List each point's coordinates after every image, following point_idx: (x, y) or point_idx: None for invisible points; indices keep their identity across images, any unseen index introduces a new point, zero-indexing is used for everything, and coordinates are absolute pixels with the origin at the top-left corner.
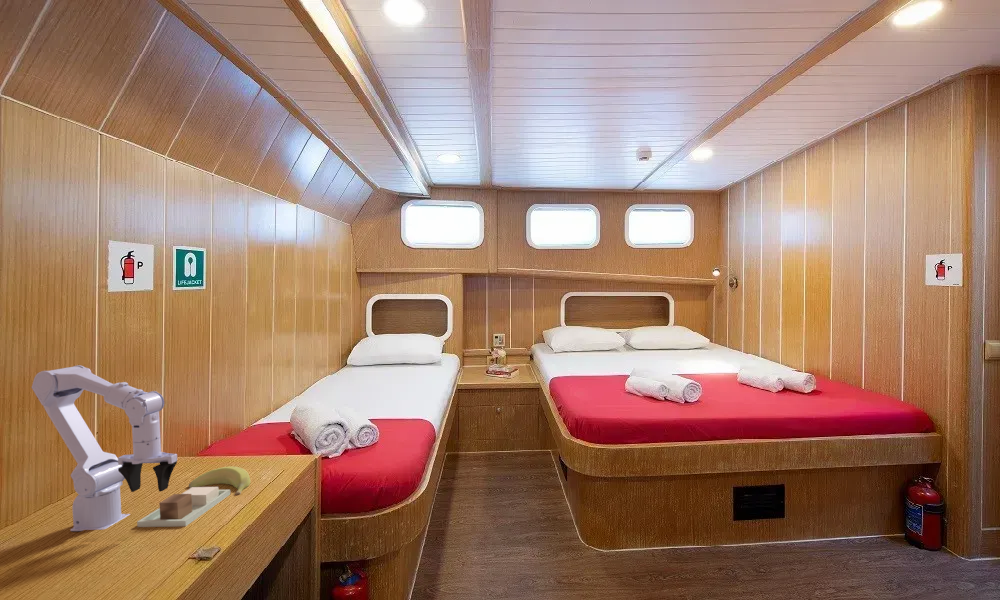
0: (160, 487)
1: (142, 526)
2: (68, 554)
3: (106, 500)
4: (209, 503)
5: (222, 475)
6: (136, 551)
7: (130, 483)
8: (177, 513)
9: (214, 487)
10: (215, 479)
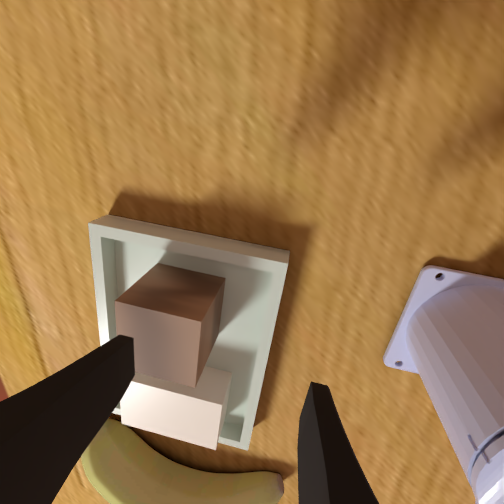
0: (97, 348)
1: (268, 250)
2: (487, 76)
3: (493, 384)
4: (102, 337)
5: (171, 494)
6: (171, 55)
7: (324, 440)
8: (144, 276)
9: (131, 422)
10: (201, 487)
